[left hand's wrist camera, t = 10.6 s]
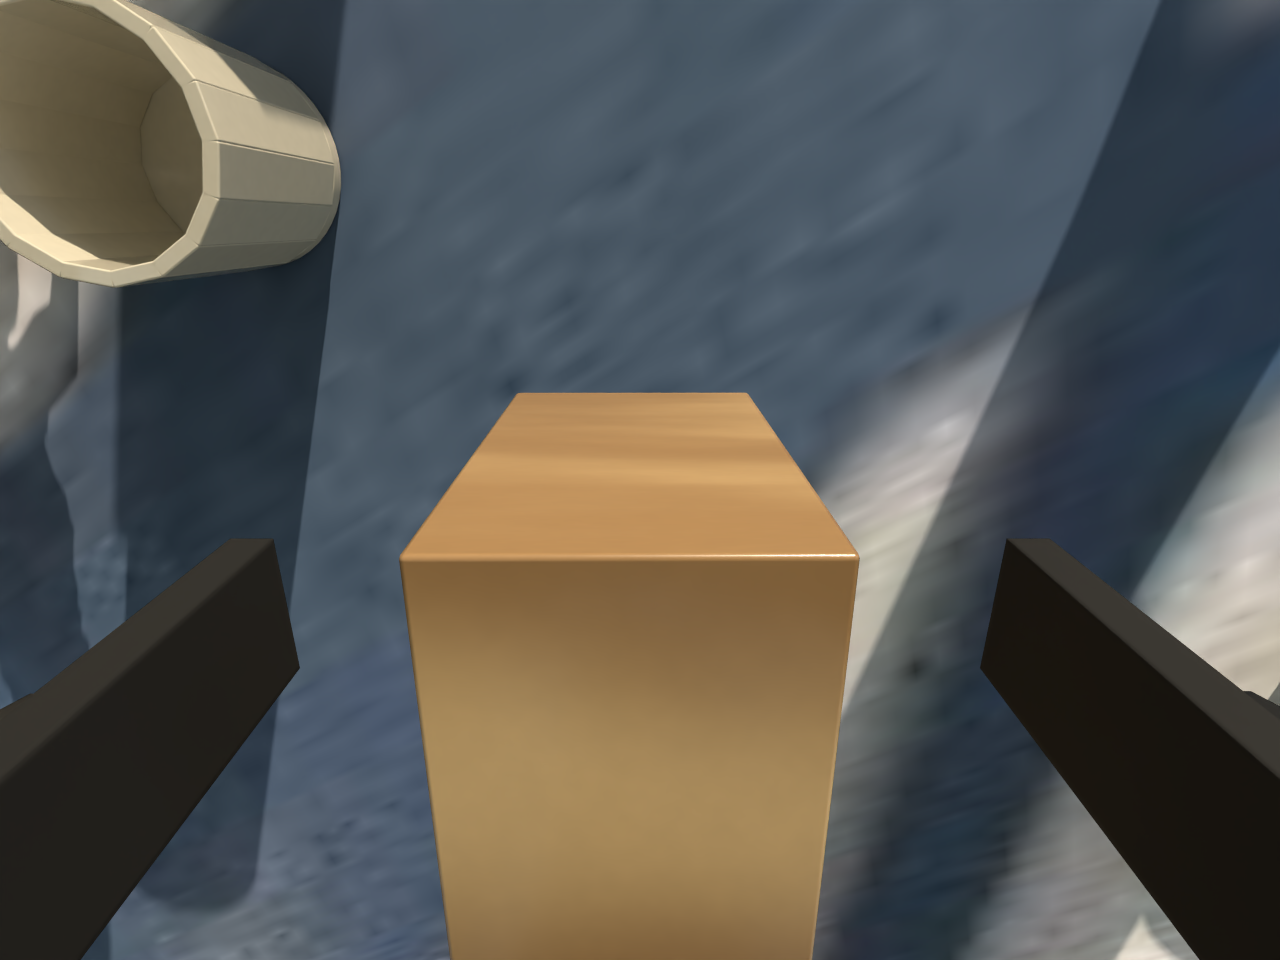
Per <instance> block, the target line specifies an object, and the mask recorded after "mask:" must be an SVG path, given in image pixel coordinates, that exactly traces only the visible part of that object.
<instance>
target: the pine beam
mask: <svg viewBox="0 0 1280 960" xmlns="http://www.w3.org/2000/svg"><path fill="white" fill-rule="evenodd" d="M859 559H860V558H859V555H858V553H857V551H856V550H855V549H854V547H853V546H852V544H851V543H850V541H849V540H848V538H847V537H846V535H845V534H844V533H843V531H842V530H841V528H840V527H839V525H838V524H837V522H836V521H835V520H834V518H833V517H832V515H831V514H830V512H829V511H828V509H827V508H826V506H825V505H824V504H823V502H822V501H821V499H820V498H819V496H818V495H817V493H816V492H815V491H814V489H813V488H812V486H811V485H810V483H809V482H808V480H807V479H806V477H805V476H804V475H803V473H802V472H801V470H800V469H799V467H798V466H797V464H796V463H795V462H794V460H793V459H792V457H791V456H790V454H789V453H788V451H787V450H786V448H785V447H784V446H783V444H782V443H781V441H780V440H779V438H778V437H777V435H776V434H775V433H774V431H773V430H772V428H771V427H770V425H769V424H768V422H767V421H766V419H765V418H764V417H763V415H762V414H761V412H760V411H759V409H758V408H757V406H756V405H755V404H754V402H753V401H752V399H751V398H750V396H749V395H748V394H747V393H518V394H516V396H515V397H514V398H513V400H512V401H511V403H510V404H509V405H508V407H507V408H506V410H505V411H504V412H503V414H502V415H501V416H500V418H499V419H498V421H497V422H496V423H495V425H494V426H493V428H492V429H491V430H490V432H489V433H488V434H487V436H486V437H485V439H484V440H483V441H482V443H481V444H480V446H479V447H478V448H477V450H476V451H475V452H474V454H473V455H472V457H471V458H470V459H469V461H468V462H467V464H466V465H465V466H464V468H463V469H462V470H461V472H460V473H459V475H458V476H457V477H456V479H455V480H454V481H453V483H452V484H451V486H450V487H449V488H448V490H447V491H446V493H445V494H444V495H443V497H442V498H441V499H440V501H439V502H438V504H437V505H436V506H435V508H434V509H433V511H432V512H431V513H430V515H429V516H428V517H427V519H426V520H425V522H424V523H423V524H422V526H421V527H420V529H419V530H418V531H417V533H416V534H415V535H414V537H413V538H412V540H411V541H410V542H409V544H408V545H407V547H406V548H405V549H404V551H403V552H402V553H401V555H400V558H399V562H400V570H401V578H402V586H403V594H404V601H405V609H406V617H407V625H408V633H409V640H410V648H411V656H412V664H413V672H414V680H415V687H416V695H417V703H418V711H419V719H420V726H421V734H422V742H423V750H424V758H425V765H426V773H427V781H428V789H429V797H430V805H431V812H432V820H433V828H434V836H435V844H436V851H437V859H438V867H439V875H440V883H441V890H442V898H443V906H444V914H445V922H446V930H447V937H448V945H449V953H450V960H812V955H813V947H814V939H815V930H816V922H817V913H818V905H819V896H820V888H821V880H822V871H823V863H824V854H825V846H826V837H827V829H828V821H829V812H830V804H831V795H832V787H833V778H834V770H835V762H836V753H837V745H838V736H839V728H840V719H841V711H842V703H843V694H844V686H845V677H846V669H847V660H848V652H849V643H850V635H851V627H852V618H853V610H854V601H855V593H856V584H857V576H858V568H859Z"/></svg>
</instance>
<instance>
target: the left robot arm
mask: <svg viewBox="0 0 1280 960" xmlns="http://www.w3.org/2000/svg"><path fill="white" fill-rule="evenodd" d="M299 669H300V666H299V661H298V657H297V652H296V647H295V642H294V637H293V632H292V627H291V623H290V618H289V613H288V608H287V603H286V598H285V593H284V589H283V584H282V579H281V574H280V569H279V564H278V559H277V555H276V550H275V545H274V540H273V539H229V540H228V541H227V542H226V543H224V544H223V545H222V546H221V547H219V548H218V549H217V550H215V551H214V552H213V553H212V554H210V555H209V556H208V557H207V558H205V559H204V560H203V561H201V562H200V563H199V564H198V565H196V566H195V567H194V568H193V569H191V570H190V571H189V572H188V573H186V574H185V575H184V576H182V577H181V578H180V579H179V580H177V581H176V582H175V583H174V584H172V585H171V586H170V587H168V588H167V589H166V590H165V591H163V592H162V593H161V594H160V595H158V596H157V597H156V598H155V599H153V600H152V601H151V602H149V603H148V604H147V605H146V606H144V607H143V608H142V609H141V610H139V611H138V612H137V613H136V614H134V615H133V616H132V617H130V618H129V619H128V620H127V621H125V622H124V623H123V624H122V625H120V626H119V627H118V628H116V629H115V630H114V631H113V632H111V633H110V634H109V635H108V636H106V637H105V638H104V639H103V640H101V641H100V642H99V643H97V644H96V645H95V646H94V647H92V648H91V649H90V650H89V651H87V652H86V653H85V654H83V655H82V656H81V657H80V658H78V659H77V660H76V661H75V662H73V663H72V664H71V665H70V666H68V667H67V668H66V669H64V670H63V671H62V672H61V673H59V674H58V675H57V676H56V677H54V678H53V679H52V680H51V681H49V682H48V683H47V684H45V685H44V686H43V687H42V688H40V689H39V690H38V691H37V692H35V693H34V694H29V695H27V696H25V697H23V698H21V699H19V700H17V701H15V702H13V703H12V704H10V705H8V706H6V707H4V708H2V709H0V960H81V958H82V957H83V956H84V954H85V953H86V952H87V950H88V949H89V948H90V946H91V945H92V944H93V942H94V941H95V940H96V938H97V937H98V936H99V934H100V933H101V932H102V930H103V929H104V928H105V926H106V925H107V924H108V922H109V921H110V920H111V919H112V917H113V916H114V915H115V913H116V912H117V911H118V909H119V908H120V907H121V905H122V904H123V903H124V901H125V900H126V899H127V897H128V896H129V895H130V893H131V892H132V891H133V889H134V888H135V887H136V885H137V884H138V883H139V881H140V880H141V879H142V877H143V876H144V875H145V873H146V872H147V871H148V869H149V868H150V867H151V865H152V864H153V863H154V861H155V860H156V859H157V857H158V856H159V855H160V853H161V852H162V851H163V849H164V848H165V847H166V845H167V844H168V843H169V841H170V840H171V839H172V837H173V836H174V835H175V833H176V832H177V831H178V829H179V828H180V827H181V825H182V824H183V823H184V821H185V820H186V819H187V817H188V816H189V815H190V813H191V812H192V811H193V809H194V808H195V807H196V805H197V804H198V803H199V802H200V800H201V799H202V798H203V796H204V795H205V794H206V792H207V791H208V790H209V788H210V787H211V786H212V784H213V783H214V782H215V780H216V779H217V778H218V776H219V775H220V774H221V772H222V771H223V770H224V768H225V767H226V766H227V764H228V763H229V762H230V760H231V759H232V758H233V756H234V755H235V754H236V752H237V751H238V750H239V748H240V747H241V746H242V744H243V743H244V742H245V740H246V739H247V738H248V736H249V735H250V734H251V732H252V731H253V730H254V728H255V727H256V726H257V724H258V723H259V722H260V720H261V719H262V718H263V716H264V715H265V714H266V712H267V711H268V710H269V708H270V707H271V706H272V704H273V703H274V702H275V700H276V699H277V698H278V696H279V695H280V694H281V692H282V691H283V690H284V688H285V687H286V686H287V684H288V683H289V682H290V681H291V679H292V678H293V677H294V675H295V674H296V673H297V671H298V670H299ZM980 669H981V670H982V671H983V673H984V674H985V675H986V677H987V678H988V679H989V681H990V682H991V683H992V684H993V686H994V687H995V688H996V690H997V691H998V692H999V694H1000V695H1001V696H1002V698H1003V699H1004V700H1005V702H1006V703H1007V704H1008V706H1009V707H1010V708H1011V710H1012V711H1013V712H1014V714H1015V715H1016V716H1017V718H1018V719H1019V720H1020V722H1021V723H1022V724H1023V726H1024V727H1025V728H1026V730H1027V731H1028V732H1029V734H1030V735H1031V736H1032V738H1033V739H1034V740H1035V742H1036V743H1037V744H1038V746H1039V747H1040V748H1041V750H1042V751H1043V752H1044V754H1045V755H1046V756H1047V758H1048V759H1049V760H1050V762H1051V763H1052V764H1053V766H1054V767H1055V768H1056V770H1057V771H1058V772H1059V774H1060V775H1061V776H1062V778H1063V779H1064V780H1065V782H1066V783H1067V784H1068V786H1069V787H1070V788H1071V790H1072V791H1073V792H1074V794H1075V795H1076V796H1077V798H1078V799H1079V800H1080V802H1081V803H1082V804H1083V805H1084V807H1085V808H1086V809H1087V811H1088V812H1089V813H1090V815H1091V816H1092V817H1093V819H1094V820H1095V821H1096V823H1097V824H1098V825H1099V827H1100V828H1101V829H1102V831H1103V832H1104V833H1105V835H1106V836H1107V837H1108V839H1109V840H1110V841H1111V843H1112V844H1113V845H1114V847H1115V848H1116V849H1117V851H1118V852H1119V853H1120V855H1121V856H1122V857H1123V859H1124V860H1125V861H1126V863H1127V864H1128V865H1129V867H1130V868H1131V869H1132V871H1133V872H1134V873H1135V875H1136V876H1137V877H1138V879H1139V880H1140V881H1141V883H1142V884H1143V885H1144V887H1145V888H1146V889H1147V891H1148V892H1149V893H1150V895H1151V896H1152V897H1153V899H1154V900H1155V901H1156V903H1157V904H1158V905H1159V907H1160V908H1161V909H1162V911H1163V912H1164V913H1165V915H1166V916H1167V917H1168V919H1169V920H1170V921H1171V922H1172V924H1173V925H1174V926H1175V928H1176V929H1177V930H1178V932H1179V933H1180V934H1181V936H1182V937H1183V938H1184V940H1185V941H1186V942H1187V944H1188V945H1189V946H1190V948H1191V949H1192V950H1193V952H1194V953H1195V954H1196V956H1197V957H1198V958H1199V960H1280V706H1278V705H1276V704H1274V703H1272V702H1270V701H1268V700H1267V699H1265V698H1263V697H1261V696H1259V695H1257V694H1255V693H1253V692H1251V691H1242V690H1241V689H1240V688H1238V687H1237V686H1236V685H1235V684H1233V683H1232V682H1231V681H1229V680H1228V679H1227V678H1226V677H1224V676H1223V675H1222V674H1221V673H1219V672H1218V671H1217V670H1216V669H1214V668H1213V667H1212V666H1210V665H1209V664H1208V663H1207V662H1205V661H1204V660H1203V659H1202V658H1200V657H1199V656H1198V655H1197V654H1195V653H1194V652H1193V651H1191V650H1190V649H1189V648H1188V647H1186V646H1185V645H1184V644H1183V643H1181V642H1180V641H1179V640H1177V639H1176V638H1175V637H1174V636H1172V635H1171V634H1170V633H1169V632H1167V631H1166V630H1165V629H1164V628H1162V627H1161V626H1160V625H1158V624H1157V623H1156V622H1155V621H1153V620H1152V619H1151V618H1150V617H1148V616H1147V615H1146V614H1144V613H1143V612H1142V611H1141V610H1139V609H1138V608H1137V607H1136V606H1134V605H1133V604H1132V603H1131V602H1129V601H1128V600H1127V599H1125V598H1124V597H1123V596H1122V595H1120V594H1119V593H1118V592H1117V591H1115V590H1114V589H1113V588H1112V587H1110V586H1109V585H1108V584H1106V583H1105V582H1104V581H1103V580H1101V579H1100V578H1099V577H1098V576H1096V575H1095V574H1094V573H1092V572H1091V571H1090V570H1089V569H1087V568H1086V567H1085V566H1084V565H1082V564H1081V563H1080V562H1079V561H1077V560H1076V559H1075V558H1073V557H1072V556H1071V555H1070V554H1068V553H1067V552H1066V551H1065V550H1063V549H1062V548H1061V547H1060V546H1058V545H1057V544H1056V543H1054V542H1053V541H1052V540H1051V539H1007V540H1006V545H1005V550H1004V555H1003V559H1002V564H1001V569H1000V574H999V579H998V584H997V589H996V593H995V598H994V603H993V608H992V613H991V618H990V623H989V627H988V632H987V637H986V642H985V647H984V652H983V657H982V661H981V666H980Z"/></svg>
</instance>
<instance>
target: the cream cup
mask: <svg viewBox="0 0 1280 960" xmlns="http://www.w3.org/2000/svg"><path fill="white" fill-rule="evenodd" d="M340 190H341V172H340V164H339V158H338V154H337V150H336V146H335V143H334V141H333V138H332V136H331V133H330V130H329V129H328V127H327V125H326V123H325V121H324V119H323V117H322V116H321V114H320V113H319V111H318V110H317V108H316V107H315V105H314V104H313V103H312V101H311V100H310V99H309V98H308V97H307V95H306V94H305V93H304V92H303V91H302V90H301V89H300V88H299V87H298V86H297V85H295V84H294V83H293V82H292V81H291V80H289V79H288V78H287V77H285V76H284V75H283V74H281V73H280V72H278V71H276V70H275V69H273V68H271V67H270V66H268V65H265V64H263V63H262V62H260V61H259V60H257V59H256V58H254V57H252V56H250V55H248V54H245V53H243V52H241V51H239V50H236V49H234V48H232V47H230V46H227V45H225V44H223V43H220V42H218V41H216V40H214V39H211V38H209V37H207V36H205V35H202V34H200V33H198V32H196V31H193V30H191V29H189V28H187V27H184V26H182V25H180V24H178V23H175V22H173V21H171V20H168V19H166V18H164V17H162V16H159V15H157V14H155V13H153V12H150V11H148V10H146V9H144V8H141V7H139V6H137V5H135V4H132V3H130V2H128V1H125V0H0V240H1V241H2V242H3V243H4V244H5V245H6V246H7V247H8V248H9V249H11V250H13V251H14V252H16V253H18V254H20V255H21V256H23V257H25V258H27V259H28V260H30V261H32V262H34V263H35V264H37V265H39V266H41V267H42V268H44V269H46V270H48V271H49V272H51V273H53V274H55V275H56V276H58V277H62V278H64V279H70V280H75V281H80V282H86V283H91V284H96V285H102V286H107V287H112V288H114V287H116V288H118V287H126V286H134V285H142V284H150V283H158V282H166V281H174V280H182V279H190V278H198V277H206V276H214V275H222V274H230V273H238V272H246V271H253V270H258V269H262V268H267V267H274V266H280V265H283V264H286V263H290V262H292V261H294V260H296V259H298V258H300V257H302V256H303V255H305V254H306V253H308V252H309V251H311V250H312V249H313V248H314V247H315V246H316V245H317V244H318V243H319V242H320V241H321V239H322V238H323V237H324V236H325V234H326V233H327V231H328V229H329V228H330V226H331V224H332V222H333V219H334V217H335V214H336V212H337V208H338V204H339V199H340Z"/></svg>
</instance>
